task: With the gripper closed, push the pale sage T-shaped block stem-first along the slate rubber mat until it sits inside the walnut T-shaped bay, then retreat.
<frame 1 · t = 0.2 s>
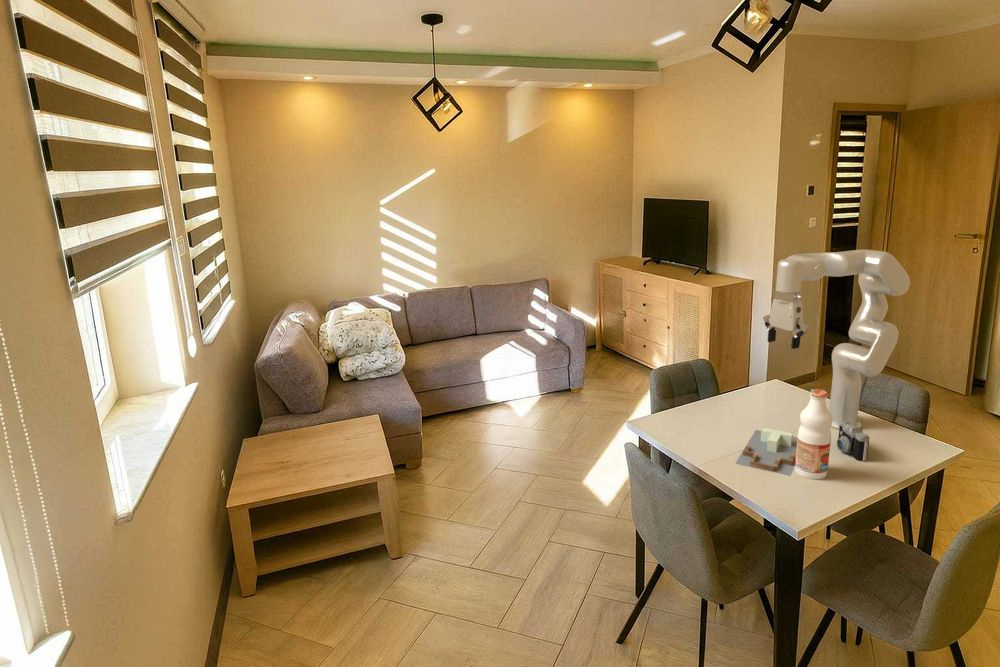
hand: (783, 344, 209), 36 cm above the table, tool pointing down, fingers open, 9 cm apart
mat: (771, 451, 211), on the table
camera: (847, 452, 209), on the table
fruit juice: (810, 473, 196), on the table
t block: (776, 442, 217), resting on mat
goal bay: (769, 455, 208), resting on mat
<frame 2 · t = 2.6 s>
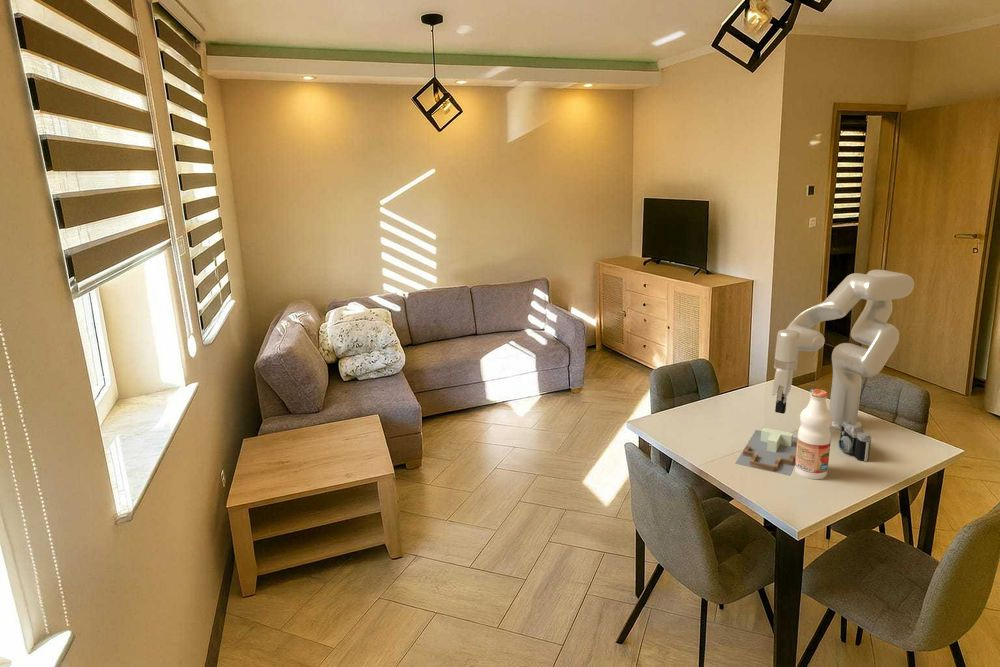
hand: (780, 412, 221), 9 cm above the table, tool pointing down, fingers closed
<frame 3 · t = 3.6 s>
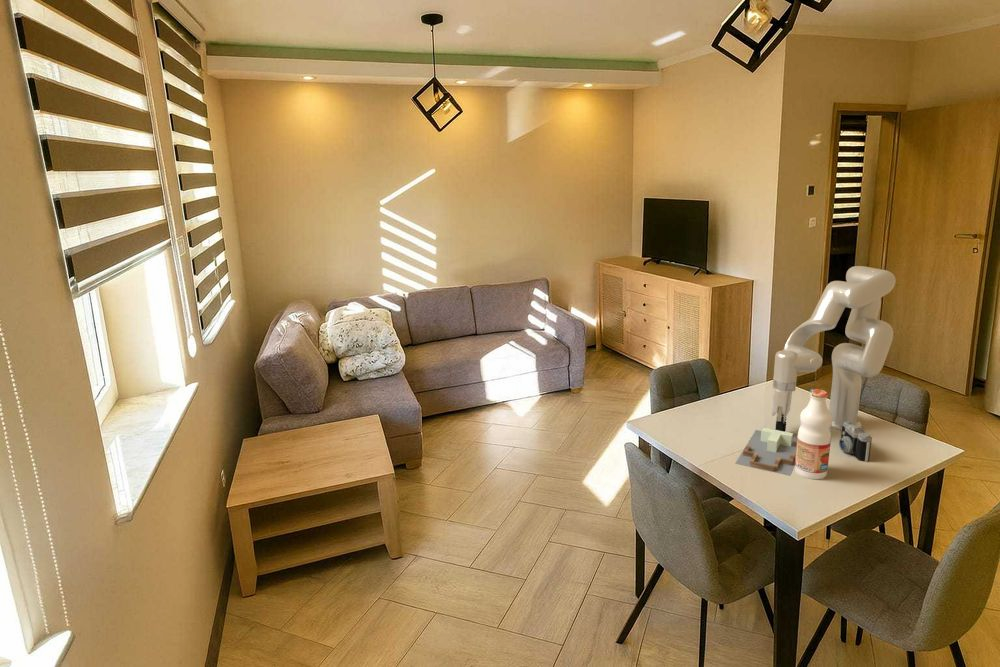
hand: (780, 431, 223), 1 cm above the table, tool pointing down, fingers closed
nothing on the table moved.
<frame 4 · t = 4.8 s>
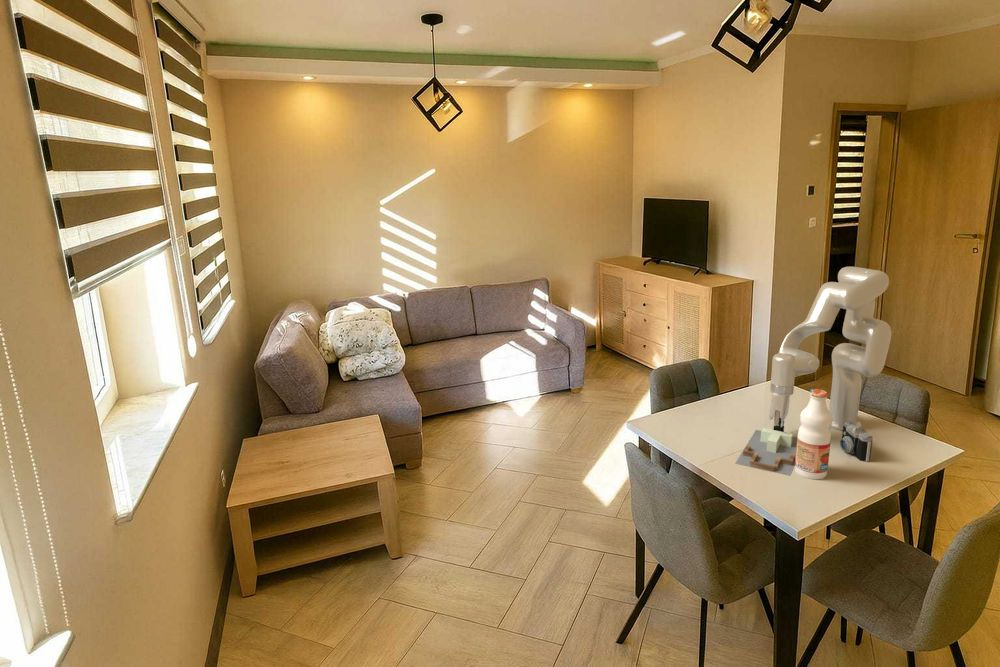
hand: (778, 435, 220), 1 cm above the table, tool pointing down, fingers closed
t block: (776, 442, 217), resting on mat, touching gripper
everything else where it was.
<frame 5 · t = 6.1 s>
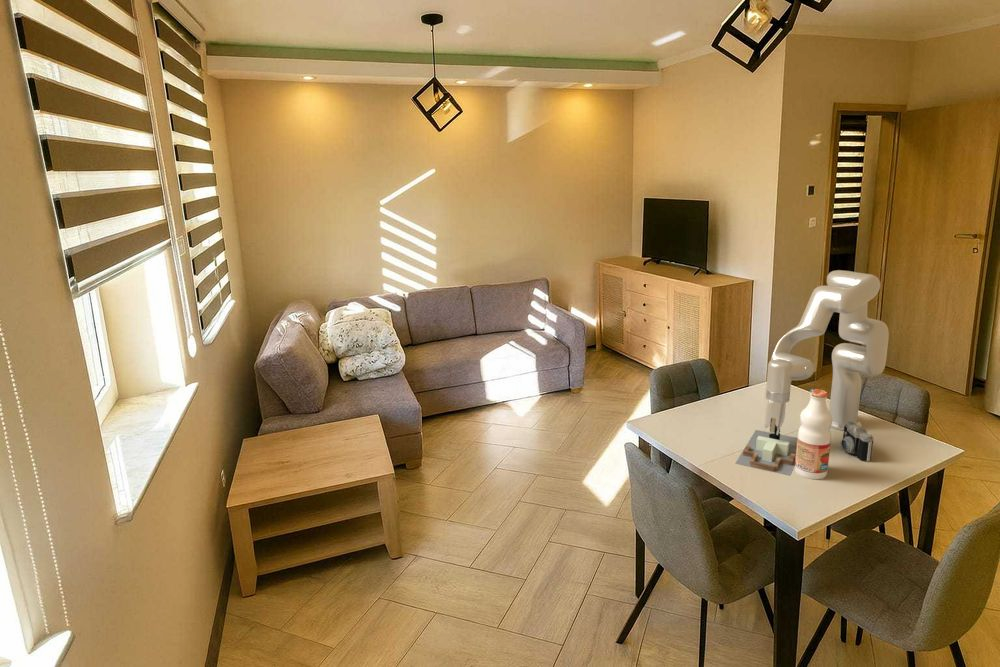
hand: (774, 443, 214), 1 cm above the table, tool pointing down, fingers closed
t block: (771, 451, 211), resting on mat, touching gripper
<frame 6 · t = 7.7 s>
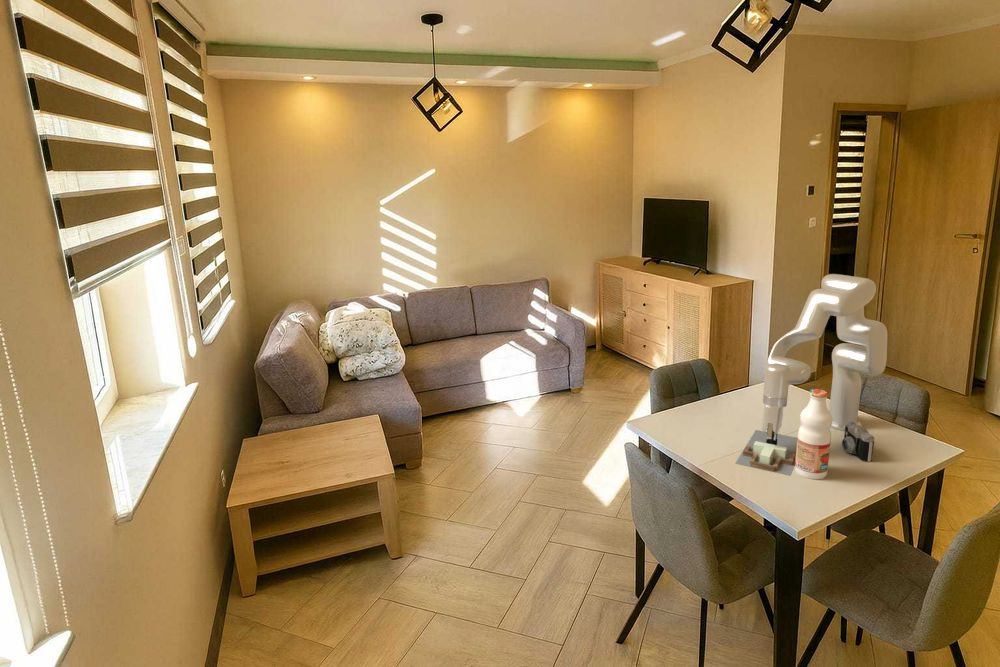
hand: (771, 449, 210), 1 cm above the table, tool pointing down, fingers closed
t block: (769, 456, 207), resting on mat, touching gripper
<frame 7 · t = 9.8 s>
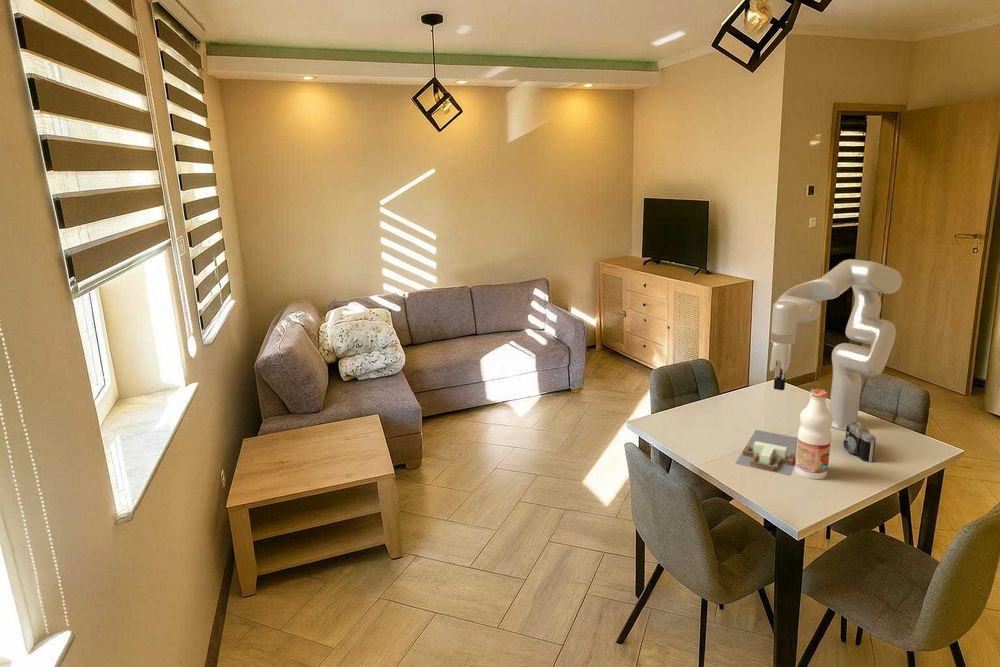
hand: (779, 388, 209), 22 cm above the table, tool pointing down, fingers closed
t block: (769, 456, 207), resting on mat
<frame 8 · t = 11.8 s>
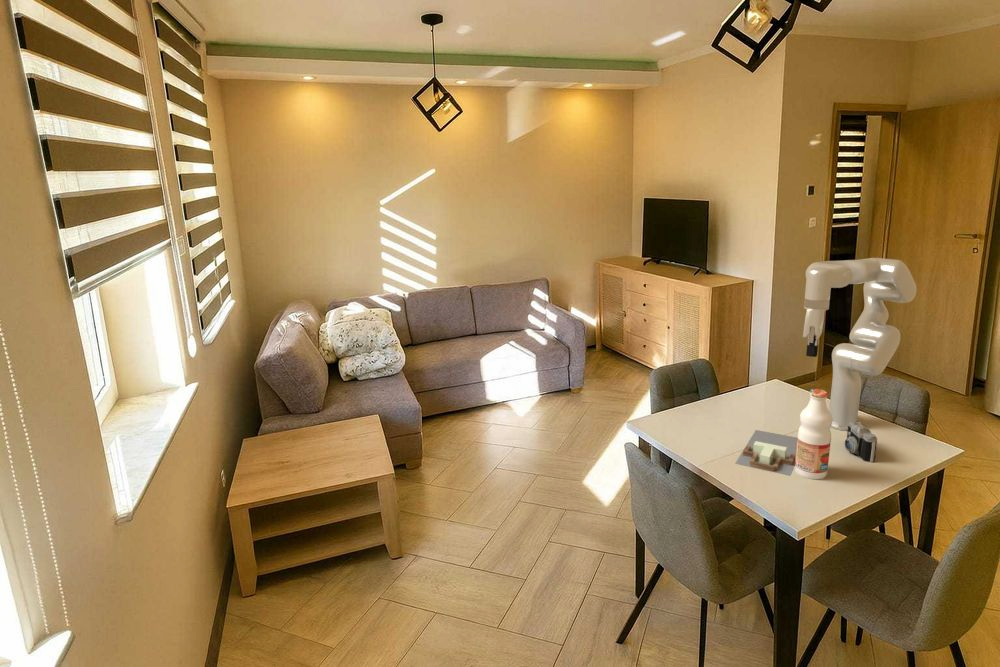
hand: (811, 355, 209), 32 cm above the table, tool pointing down, fingers closed
at the end: t block 1.1 cm off-centre on the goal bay, point 0.0 cm above the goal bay's base; t block tilted 0° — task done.
